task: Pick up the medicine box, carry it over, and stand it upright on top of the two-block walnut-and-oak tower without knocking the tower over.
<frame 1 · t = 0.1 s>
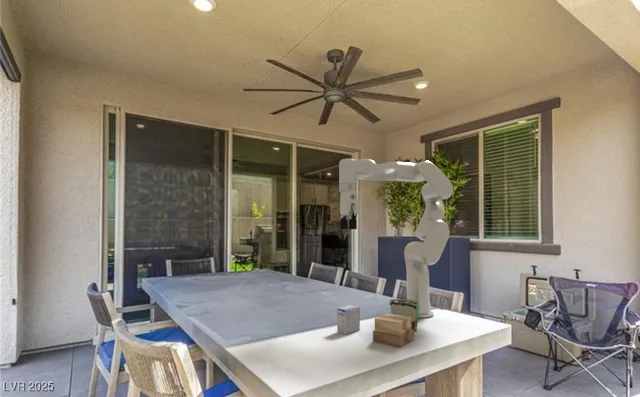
hand: (348, 229, 150), 37 cm above the table, tool pointing down, fingers open, 9 cm apart
food container: (407, 328, 136), on the table
tower top block: (393, 329, 121), point 4 cm above the table, touching tower base block
medicine box: (348, 331, 132), on the table
tower base block: (393, 342, 120), on the table, touching tower top block
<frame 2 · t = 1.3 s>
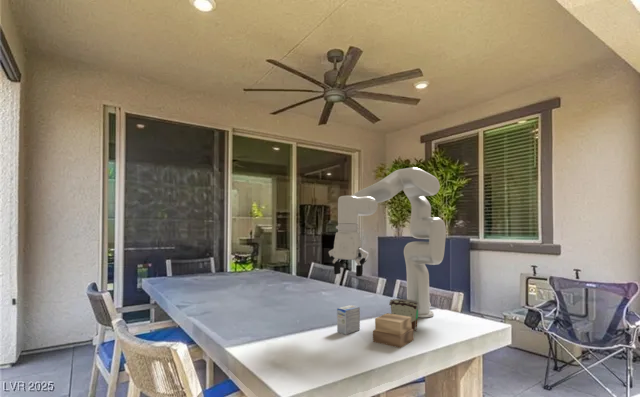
hand: (348, 275, 133), 20 cm above the table, tool pointing down, fingers open, 9 cm apart
nothing on the table moved.
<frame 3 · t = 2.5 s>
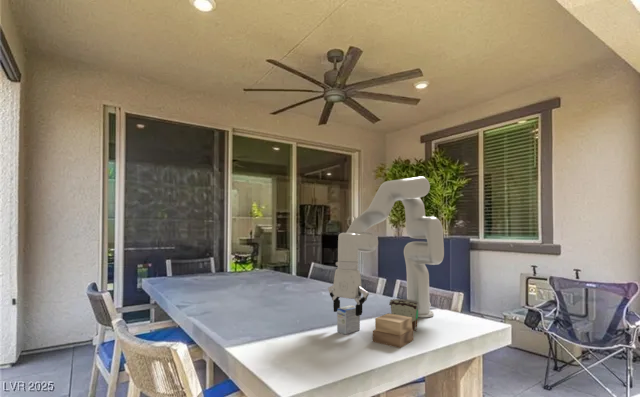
hand: (347, 313, 132), 7 cm above the table, tool pointing down, fingers open, 9 cm apart
tower top block: (393, 329, 121), point 4 cm above the table
tower base block: (393, 342, 120), on the table
everything else where it was.
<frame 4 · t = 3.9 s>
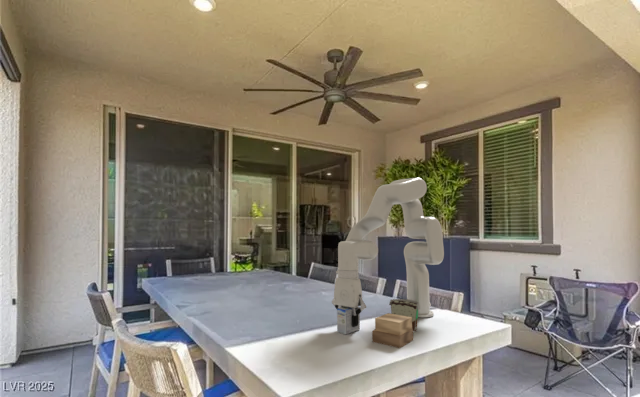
hand: (348, 324, 132), 2 cm above the table, tool pointing down, fingers closed on medicine box, 4 cm apart
medicine box: (348, 331, 132), on the table, touching gripper
everything else where it was.
when the fingers open (11 cm above the table, at t = 9.9 s): medicine box drops 2 cm, resting on tower top block.
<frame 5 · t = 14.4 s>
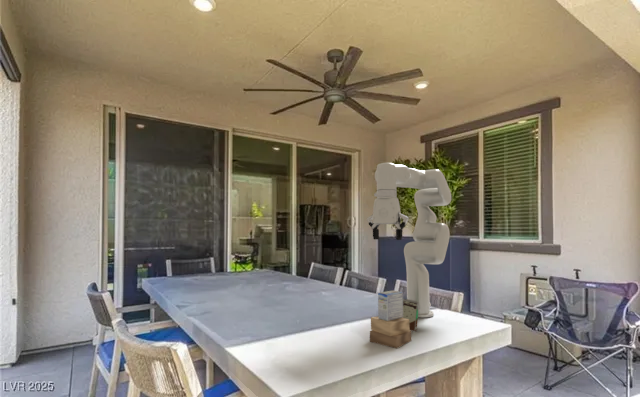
hand: (387, 239, 137), 33 cm above the table, tool pointing down, fingers open, 9 cm apart
tower top block: (390, 330, 121), point 3 cm above the table, touching medicine box, tower base block
medicine box: (390, 319, 121), point 7 cm above the table, touching tower top block
tower base block: (390, 342, 120), on the table, touching tower top block
everything else where it was.
at the end: medicine box 0.4 cm off-centre on the tower top block, point 3.8 cm above the tower top block's base; medicine box tilted 1°; tower top block 0.2 cm off-centre on the tower base block, point 4.0 cm above the tower base block's base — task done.
